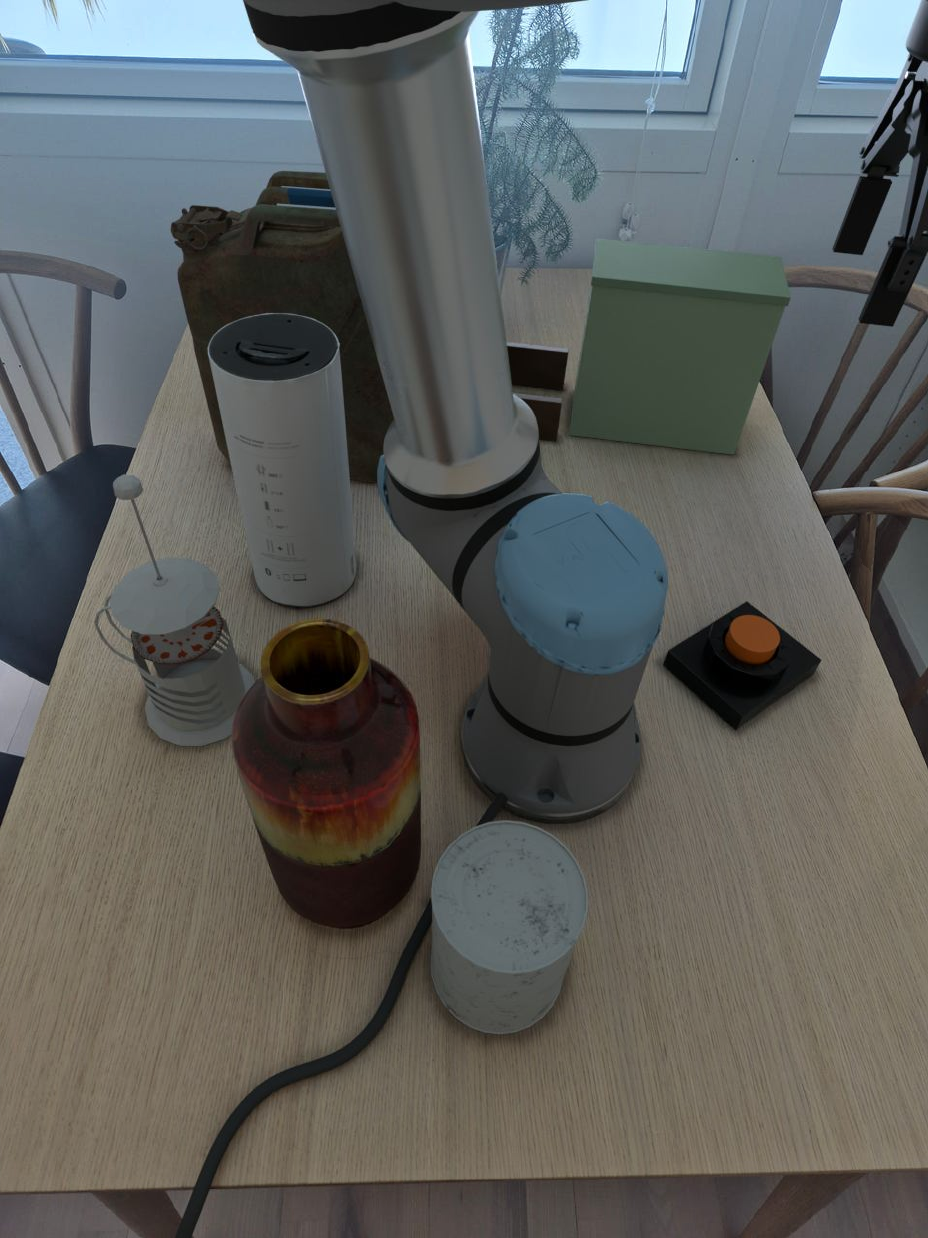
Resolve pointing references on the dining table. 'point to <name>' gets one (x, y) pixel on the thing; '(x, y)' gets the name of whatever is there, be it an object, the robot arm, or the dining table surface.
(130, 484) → the french press
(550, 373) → the rack
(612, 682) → the robot arm
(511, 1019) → the pale grey cylinder
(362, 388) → the container
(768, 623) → the button
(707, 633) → the button block
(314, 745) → the vase
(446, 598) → the dining table surface
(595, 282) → the storage box
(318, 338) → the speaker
